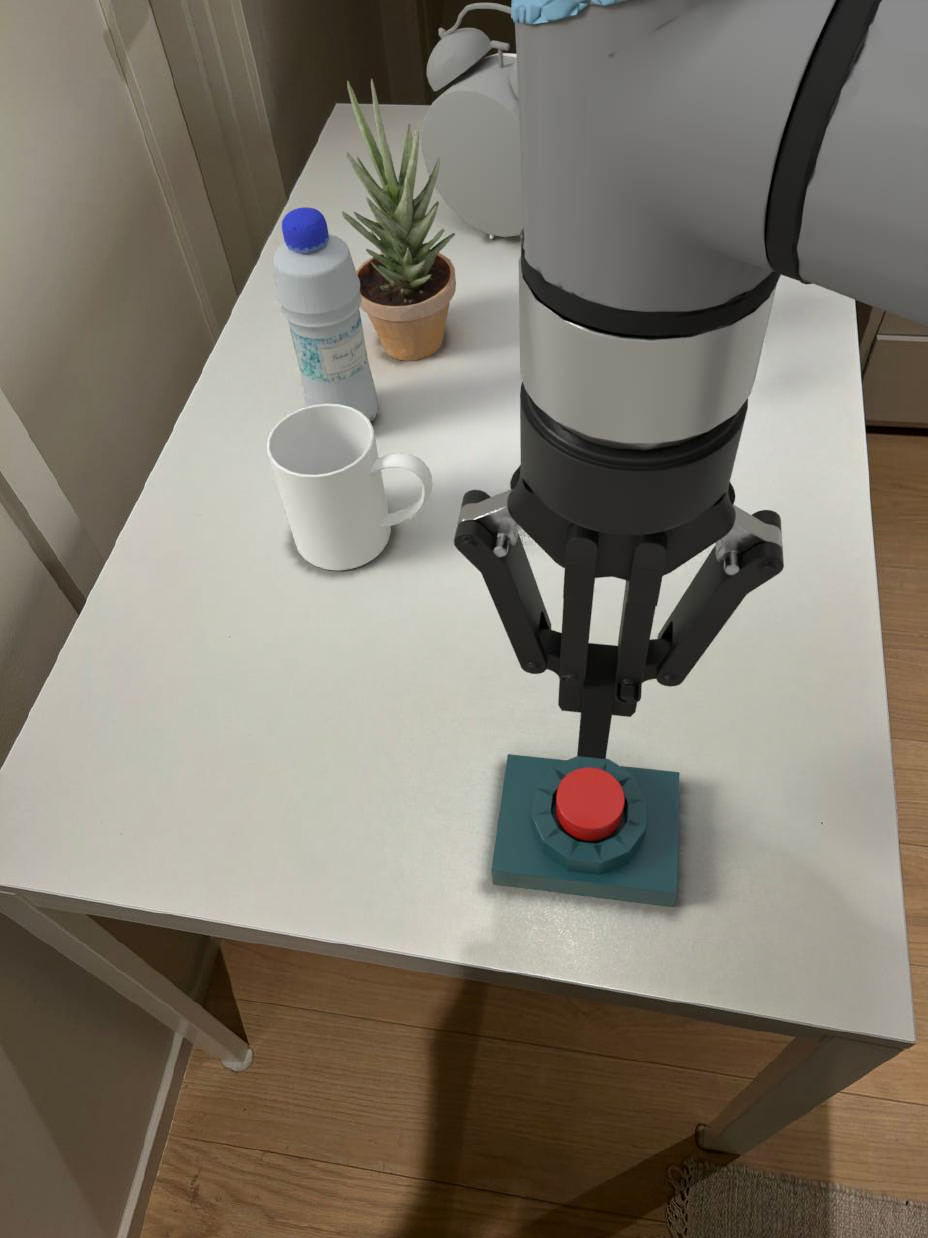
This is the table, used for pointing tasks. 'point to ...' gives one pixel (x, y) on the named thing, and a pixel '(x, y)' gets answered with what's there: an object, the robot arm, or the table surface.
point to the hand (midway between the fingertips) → (593, 735)
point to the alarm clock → (476, 129)
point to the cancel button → (589, 804)
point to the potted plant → (401, 249)
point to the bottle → (323, 313)
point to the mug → (337, 485)
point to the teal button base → (605, 868)
